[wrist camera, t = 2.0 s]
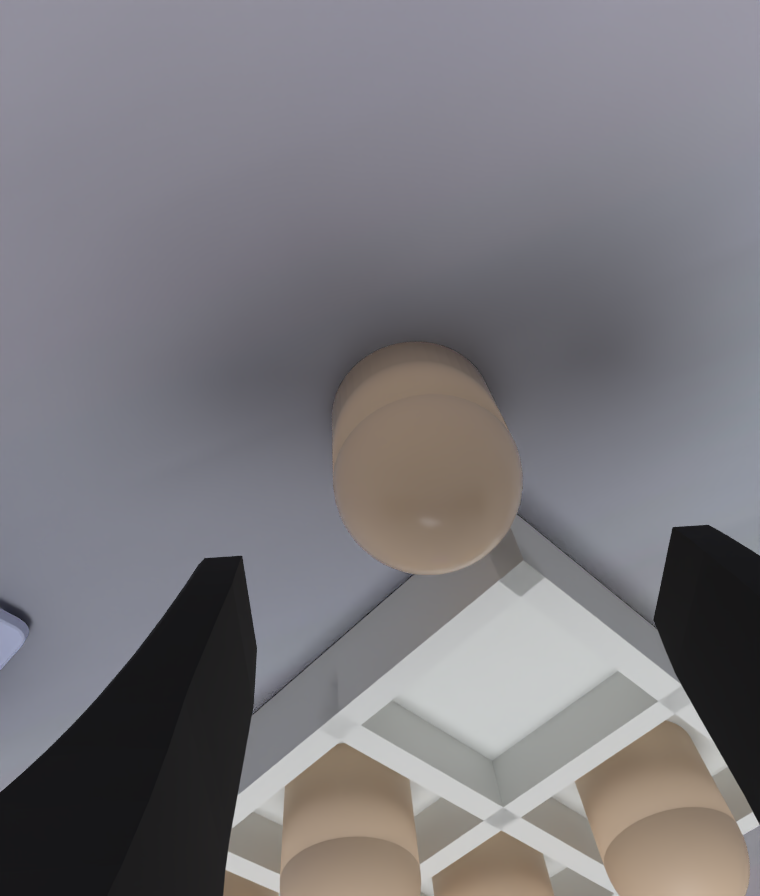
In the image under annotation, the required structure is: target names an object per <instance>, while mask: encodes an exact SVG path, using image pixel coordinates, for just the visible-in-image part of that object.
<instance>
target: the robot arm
mask: <svg viewBox="0 0 760 896" xmlns="http://www.w3.org/2000/svg"><path fill="white" fill-rule="evenodd" d="M654 622H655V625H656V627H657V630H658V632H659V635H660V638H661V640H662V643H663V645H664V648H665V651H666V653H667V655H668V658H669V660H670V662H671V665H672V667H673V669H674V672H675V674H676V676H677V678H678V680H679V681H680V683H681V685H682V687H683V689H684V691H685V692H686V694H687V696H688V698H689V699H690V701H691V703H692V705H693V707H694V708H695V710H696V712H697V714H698V716H699V717H700V719H701V721H702V723H703V724H704V726H705V728H706V729H707V731H708V733H709V735H710V736H711V738H712V740H713V742H714V743H715V745H716V747H717V749H718V750H719V752H720V754H721V756H722V757H723V759H724V761H725V763H726V764H727V766H728V768H729V770H730V771H731V773H732V775H733V777H734V778H735V780H736V782H737V784H738V785H739V787H740V789H741V791H742V792H743V794H744V796H745V798H746V800H747V802H748V803H749V805H750V807H751V809H752V811H753V813H754V815H755V817H756V819H757V821H758V823H759V825H760V556H759V555H758V554H756V553H755V552H753V551H751V550H750V549H748V548H747V547H745V546H743V545H742V544H740V543H739V542H737V541H735V540H734V539H732V538H730V537H729V536H727V535H725V534H724V533H722V532H720V531H718V530H717V529H715V528H713V527H711V526H709V525H699V526H684V527H673V528H672V533H671V538H670V543H669V548H668V552H667V557H666V562H665V567H664V572H663V577H662V581H661V586H660V591H659V596H658V601H657V606H656V610H655V615H654ZM28 634H29V628H28V626H27V625H26V623H25V622H23V621H22V620H21V619H19V618H18V617H16V616H14V615H12V614H10V613H8V612H6V611H4V610H2V609H0V670H1V669H2V668H3V666H4V665H5V664H6V663H7V662H8V661H9V660H10V659H11V658H12V657H13V655H14V654H15V653H16V652H17V651H18V650H19V649H20V648H21V647H22V646H23V644H24V642H25V640H26V638H27V636H28ZM256 654H257V646H256V640H255V634H254V627H253V621H252V615H251V609H250V602H249V596H248V590H247V584H246V577H245V571H244V565H243V559H242V556H232V557H217V558H205V559H204V560H203V561H202V562H201V563H200V564H199V565H198V566H197V568H196V569H195V571H194V572H193V574H192V575H191V577H190V578H189V580H188V581H187V583H186V584H185V586H184V587H183V589H182V590H181V592H180V593H179V595H178V596H177V598H176V599H175V600H174V602H173V603H172V605H171V606H170V607H169V609H168V610H167V612H166V613H165V614H164V616H163V617H162V619H161V620H160V621H159V622H158V624H157V625H156V626H155V628H154V629H153V630H152V632H151V633H150V634H149V636H148V637H147V638H146V640H145V641H144V642H143V644H142V645H141V646H140V648H139V649H138V650H137V651H136V653H135V654H134V655H133V656H132V658H131V659H130V660H129V661H128V662H127V664H126V665H125V666H124V667H123V668H122V670H121V671H120V672H119V673H118V674H117V675H116V677H115V678H114V679H113V680H112V681H111V683H110V684H109V685H108V686H107V687H106V688H105V690H104V691H103V692H102V693H101V694H100V695H99V697H98V698H97V699H96V700H95V701H94V702H93V703H92V704H91V705H90V706H89V708H88V709H87V710H86V711H85V712H84V713H83V714H82V715H81V716H80V717H79V718H78V719H77V720H76V721H75V723H74V724H73V725H72V726H71V727H70V728H69V729H68V730H67V731H66V732H65V733H64V734H63V735H62V736H61V737H60V738H59V739H58V740H57V741H56V742H55V743H54V744H53V745H52V746H51V747H50V748H49V749H48V750H47V751H46V752H45V753H44V754H42V755H41V756H40V757H39V758H38V759H37V760H36V761H35V762H34V763H33V764H32V765H31V766H29V767H28V768H27V769H26V770H25V771H24V772H23V773H22V774H21V775H20V776H18V777H17V778H16V779H15V780H14V781H13V782H12V783H11V784H9V785H8V786H7V787H6V788H5V789H4V790H3V791H1V792H0V896H223V893H224V881H225V870H226V862H227V855H228V848H229V841H230V835H231V829H232V824H233V818H234V812H235V807H236V801H237V796H238V790H239V785H240V779H241V774H242V768H243V762H244V757H245V751H246V746H247V740H248V734H249V728H250V723H251V717H252V711H253V704H254V689H255V673H256Z"/></svg>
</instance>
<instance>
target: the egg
mask: <svg viewBox="0 0 760 896" xmlns="http://www.w3.org/2000/svg"><path fill="white" fill-rule="evenodd" d="M332 455H333V488H334V495H335V502H336V505H337V508H338V512H339V514H340V517H341V519H342V521H343V523H344V525H345V527H346V529H347V530H348V532H349V533H350V535H351V536H352V537H353V539H354V540H355V541H356V543H357V544H358V545H359V546H360V547H361V548H362V549H363V550H364V551H366V552H367V553H368V554H369V555H371V556H372V557H373V558H374V559H376V560H377V561H379V562H381V563H382V564H384V565H387V566H389V567H391V568H393V569H396V570H399V571H402V572H405V573H410V574H416V575H439V574H446V573H450V572H455V571H458V570H460V569H463V568H466V567H468V566H470V565H472V564H474V563H476V562H477V561H479V560H481V559H482V558H483V557H485V556H486V555H487V554H489V553H490V552H491V551H492V550H493V549H494V548H495V547H496V546H497V545H498V544H499V543H500V542H501V540H502V539H503V538H504V537H505V535H506V534H507V532H508V531H509V529H510V528H511V526H512V523H513V521H514V519H515V517H516V515H517V512H518V509H519V506H520V502H521V495H522V489H523V473H522V465H521V459H520V456H519V453H518V450H517V447H516V444H515V442H514V440H513V438H512V436H511V434H510V432H509V430H508V428H507V426H506V423H505V421H504V419H503V417H502V415H501V413H500V411H499V409H498V407H497V405H496V403H495V401H494V399H493V397H492V395H491V393H490V391H489V389H488V387H487V385H486V383H485V381H484V379H483V377H482V376H481V374H480V373H479V371H478V370H477V368H476V367H475V366H474V365H473V364H472V363H471V362H470V361H469V360H467V359H466V358H465V357H464V356H462V355H461V354H459V353H457V352H456V351H454V350H452V349H450V348H447V347H445V346H442V345H438V344H435V343H429V342H403V343H397V344H393V345H389V346H387V347H384V348H381V349H379V350H377V351H375V352H373V353H371V354H369V355H368V356H366V357H365V358H364V359H362V360H361V361H360V362H358V363H357V364H356V365H355V366H354V367H353V368H352V369H351V370H350V371H349V373H348V374H347V375H346V376H345V378H344V379H343V381H342V383H341V384H340V386H339V388H338V391H337V393H336V396H335V399H334V402H333V408H332Z"/></svg>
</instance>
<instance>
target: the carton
mask: <svg viewBox="0 0 760 896" xmlns="http://www.w3.org/2000/svg"><path fill="white" fill-rule="evenodd" d="M757 826H759V823H758V821H757V819H756V817H755V815H754V813H753V811H752V809H751V807H750V805H749V803H748V802H747V800H746V798H745V796H744V794H743V792H742V791H741V789H740V787H739V785H738V784H737V782H736V780H735V778H734V777H733V775H732V773H731V771H730V770H729V768H728V766H727V764H726V763H725V761H724V759H723V757H722V756H721V754H720V752H719V750H718V749H717V747H716V745H715V743H714V742H713V740H712V738H711V736H710V735H709V733H708V731H707V729H706V728H705V726H704V724H703V723H702V721H701V719H700V717H699V716H698V714H697V712H696V710H695V708H694V707H693V705H692V703H691V701H690V699H689V698H688V696H687V694H686V692H685V691H684V689H683V687H682V685H681V683H680V681H679V680H678V678H677V676H676V674H675V672H674V669H673V667H672V665H671V662H670V660H669V658H668V655H667V653H666V651H665V648H664V645H663V643H662V640H661V638H660V635H659V632H658V630H657V629H656V628H655V627H654V626H652V625H651V624H650V623H649V622H648V621H646V620H645V619H644V618H643V617H642V616H640V615H639V614H638V613H637V612H635V611H634V610H633V609H632V608H631V607H629V606H628V605H627V604H626V603H624V602H623V601H622V600H621V599H620V598H618V597H617V596H616V595H615V594H614V593H612V592H611V591H610V590H609V589H607V588H606V587H605V586H604V585H603V584H601V583H600V582H599V581H598V580H596V579H595V578H594V577H593V576H592V575H590V574H589V573H588V572H587V571H585V570H584V569H583V568H582V567H581V566H579V565H578V564H577V563H576V562H575V561H573V560H572V559H571V558H570V557H568V556H567V555H566V554H565V553H564V552H562V551H561V550H560V549H559V548H557V547H556V546H555V545H554V544H553V543H551V542H550V541H549V540H548V539H546V538H545V537H544V536H543V535H542V534H540V533H539V532H538V531H537V530H536V529H534V528H533V527H532V526H531V525H529V524H528V523H527V522H526V521H525V520H523V519H522V518H521V517H520V516H518V515H516V517H515V519H514V521H513V523H512V526H511V528H510V529H509V531H508V532H507V534H506V535H505V537H504V538H503V539H502V540H501V542H500V543H499V544H498V545H497V546H496V547H495V548H494V549H493V550H492V551H491V552H490V553H489V554H487V555H486V556H485V557H483V558H482V559H481V560H479V561H477V562H476V563H474V564H472V565H470V566H468V567H466V568H463V569H460V570H458V571H455V572H450V573H446V574H439V575H416V574H414V575H413V576H412V577H411V578H409V579H408V580H407V581H406V582H405V583H404V584H403V585H401V586H400V587H399V588H398V589H397V590H396V591H395V592H393V593H392V594H391V595H390V596H389V597H388V598H387V599H385V600H384V601H383V602H382V603H381V604H380V605H378V606H377V607H376V608H375V609H374V610H373V611H372V612H370V613H369V614H368V615H367V616H366V617H365V618H364V619H362V620H361V621H360V622H359V623H358V624H357V625H356V626H354V627H353V628H352V629H351V630H350V631H349V632H347V633H346V634H345V635H344V636H343V637H342V638H341V639H339V640H338V641H337V642H336V643H335V644H334V645H333V646H331V647H330V648H329V649H328V650H327V651H326V652H324V653H323V654H322V655H321V656H320V657H319V658H318V659H316V660H315V661H314V662H313V663H312V664H311V665H310V666H308V667H307V668H306V669H305V670H304V671H303V672H302V673H300V674H299V675H298V676H297V677H296V678H295V679H293V680H292V681H291V682H290V683H289V684H288V685H287V686H285V687H284V688H283V689H282V690H281V691H280V692H279V693H277V694H276V695H275V696H274V697H273V698H272V699H270V700H269V701H268V702H267V703H266V704H265V705H264V706H262V707H261V708H260V709H259V710H258V711H257V712H256V713H254V714H253V715H252V717H251V723H250V728H249V734H248V740H247V746H246V751H245V757H244V762H243V768H242V774H241V779H240V785H239V790H238V796H237V801H236V807H235V812H234V818H233V824H232V829H231V835H230V841H229V848H228V855H227V862H226V870H225V881H224V893H223V896H745V895H746V891H747V888H748V884H749V876H750V864H749V856H748V851H747V846H746V843H745V840H744V837H743V835H744V834H745V833H747V832H749V831H751V830H752V829H754V828H756V827H757Z"/></svg>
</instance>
